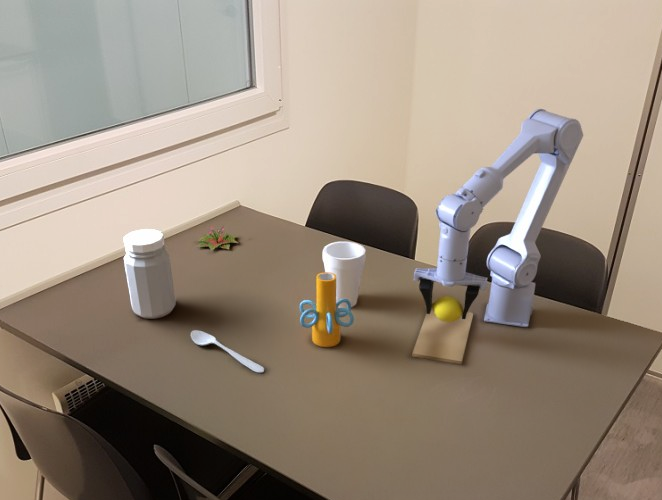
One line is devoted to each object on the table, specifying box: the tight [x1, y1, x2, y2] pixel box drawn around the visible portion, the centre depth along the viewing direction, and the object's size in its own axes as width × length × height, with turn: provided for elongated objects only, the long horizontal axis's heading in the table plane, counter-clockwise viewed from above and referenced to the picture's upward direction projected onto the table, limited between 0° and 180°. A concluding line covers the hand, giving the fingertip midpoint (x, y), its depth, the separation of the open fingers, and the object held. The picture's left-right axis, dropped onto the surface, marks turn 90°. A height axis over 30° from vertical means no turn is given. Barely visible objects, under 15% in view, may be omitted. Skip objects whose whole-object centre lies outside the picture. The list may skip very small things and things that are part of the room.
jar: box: [123, 228, 177, 320], centre depth 153 cm, size 10×10×18 cm
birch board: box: [411, 309, 474, 365], centre depth 148 cm, size 10×20×1 cm, turn 163°
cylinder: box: [299, 271, 355, 348], centre depth 143 cm, size 12×10×15 cm
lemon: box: [431, 295, 464, 322], centre depth 145 cm, size 7×5×5 cm
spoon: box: [190, 329, 265, 374], centre depth 142 cm, size 4×21×2 cm, turn 50°
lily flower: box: [196, 225, 239, 252], centre depth 187 cm, size 12×12×5 cm
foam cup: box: [322, 241, 367, 309], centre depth 158 cm, size 10×9×13 cm
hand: (446, 314), depth 146 cm, fingers closed on lemon, 7 cm apart
